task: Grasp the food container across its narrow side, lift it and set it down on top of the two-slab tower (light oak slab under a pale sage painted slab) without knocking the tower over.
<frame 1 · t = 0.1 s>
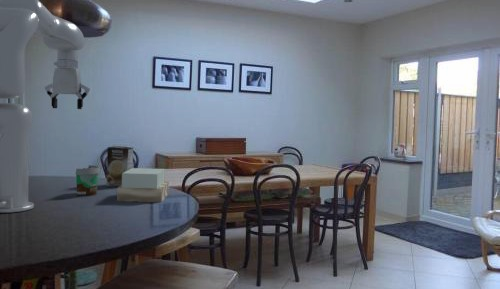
hand: (67, 108, 175), 31 cm above the kitchen island, tool pointing down, fingers open, 9 cm apart
food container: (90, 194, 161), on the kitchen island
tower top slab: (144, 184, 159), point 5 cm above the kitchen island, touching tower base slab
tower base slab: (144, 198, 159), on the kitchen island, touching tower top slab
coffee box: (119, 186, 183), on the kitchen island
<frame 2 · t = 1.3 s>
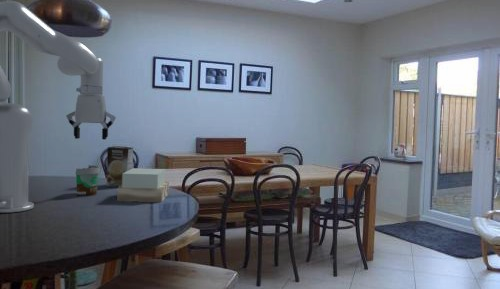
hand: (90, 138, 160), 20 cm above the kitchen island, tool pointing down, fingers open, 9 cm apart
nothing on the kitchen island moved.
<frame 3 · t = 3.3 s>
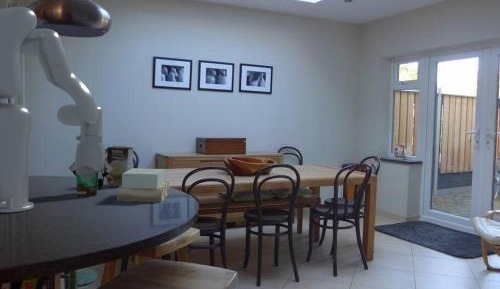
hand: (90, 188, 161), 2 cm above the kitchen island, tool pointing down, fingers open, 6 cm apart
food container: (90, 194, 161), on the kitchen island, touching gripper
everything else where it was.
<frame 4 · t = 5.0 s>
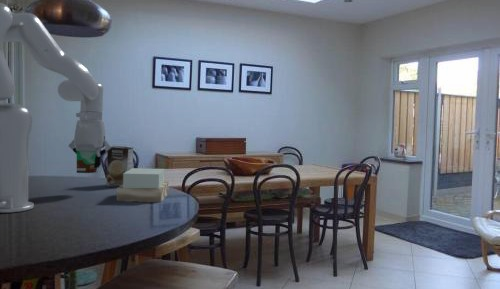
hand: (89, 166, 160), 10 cm above the kitchen island, tool pointing down, fingers closed on food container, 5 cm apart
food container: (90, 172, 160), point 8 cm above the kitchen island, touching gripper
tower top slab: (144, 184, 159), point 4 cm above the kitchen island
tower base slab: (143, 198, 159), on the kitchen island
everything else where it was.
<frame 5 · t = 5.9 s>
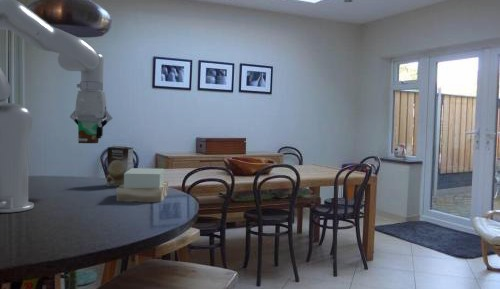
hand: (90, 137, 160), 21 cm above the kitchen island, tool pointing down, fingers closed on food container, 5 cm apart
food container: (92, 143, 160), point 19 cm above the kitchen island, touching gripper
tower top slab: (144, 184, 159), point 4 cm above the kitchen island, touching tower base slab
tower base slab: (143, 198, 159), on the kitchen island, touching tower top slab
everything else where it was.
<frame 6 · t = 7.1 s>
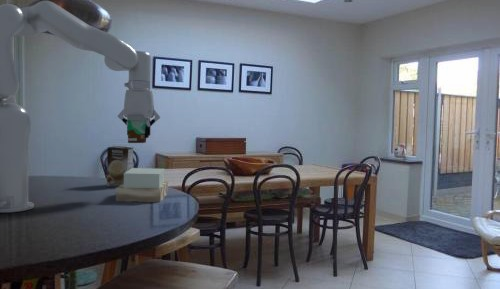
hand: (138, 136, 158), 22 cm above the kitchen island, tool pointing down, fingers closed on food container, 5 cm apart
food container: (140, 143, 158), point 20 cm above the kitchen island, touching gripper
tower top slab: (144, 184, 159), point 5 cm above the kitchen island
tower base slab: (143, 198, 159), on the kitchen island
everything else where it was.
when the fingers open (13 cm above the kitchen island, at t = 9.2 s): food container drops 2 cm, resting on tower top slab.
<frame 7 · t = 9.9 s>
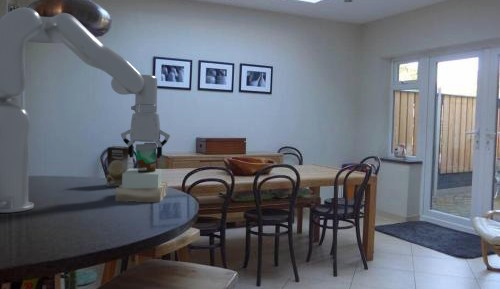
hand: (145, 157, 158), 14 cm above the kitchen island, tool pointing down, fingers open, 9 cm apart
food container: (150, 171, 158), point 9 cm above the kitchen island, touching tower top slab
tower top slab: (142, 185, 159), point 4 cm above the kitchen island, touching food container
everything else where it was.
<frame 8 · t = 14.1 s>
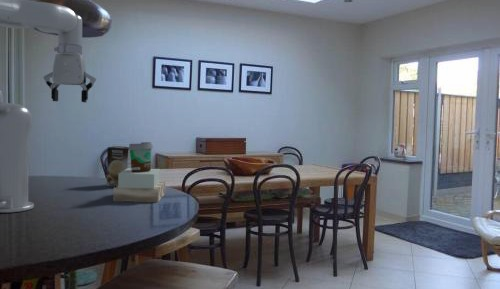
hand: (69, 101, 151), 33 cm above the kitchen island, tool pointing down, fingers open, 9 cm apart
food container: (144, 171, 158), point 9 cm above the kitchen island, touching tower top slab
tower top slab: (140, 184, 158), point 4 cm above the kitchen island, touching food container, tower base slab
tower base slab: (140, 198, 159), on the kitchen island, touching tower top slab
everything else where it was.
at the end: food container inside the target area on the tower top slab (1.6 cm from its centre), point 4.9 cm above the tower top slab's base; tower top slab inside the target area on the tower base slab (0.3 cm from its centre), point 5.0 cm above the tower base slab's base; food container tilted 2° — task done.
